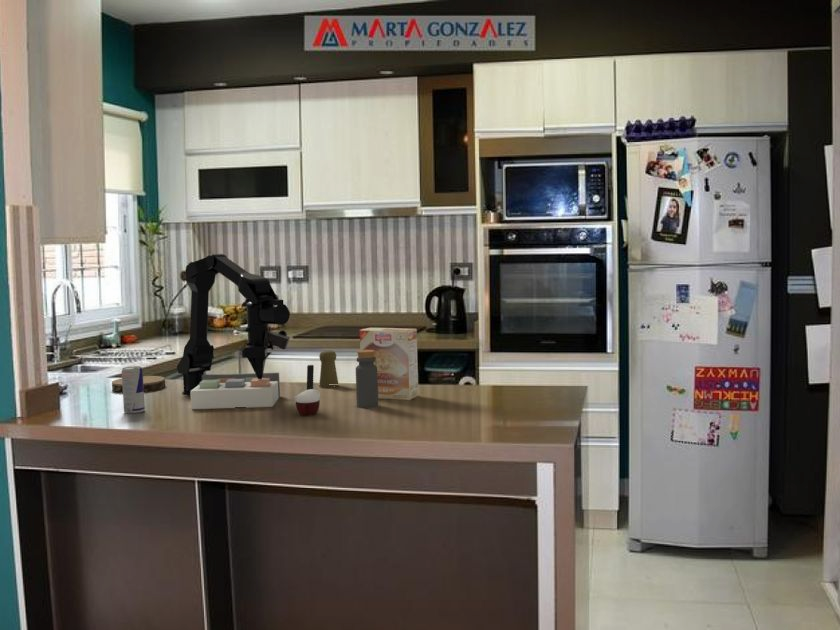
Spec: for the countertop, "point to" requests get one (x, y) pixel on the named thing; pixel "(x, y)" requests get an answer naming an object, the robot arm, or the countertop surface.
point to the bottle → (366, 380)
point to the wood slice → (148, 382)
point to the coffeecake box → (393, 360)
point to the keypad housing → (236, 392)
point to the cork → (328, 369)
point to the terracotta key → (260, 382)
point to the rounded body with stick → (308, 396)
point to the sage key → (210, 384)
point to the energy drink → (133, 389)
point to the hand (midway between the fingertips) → (260, 378)
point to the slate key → (235, 383)
